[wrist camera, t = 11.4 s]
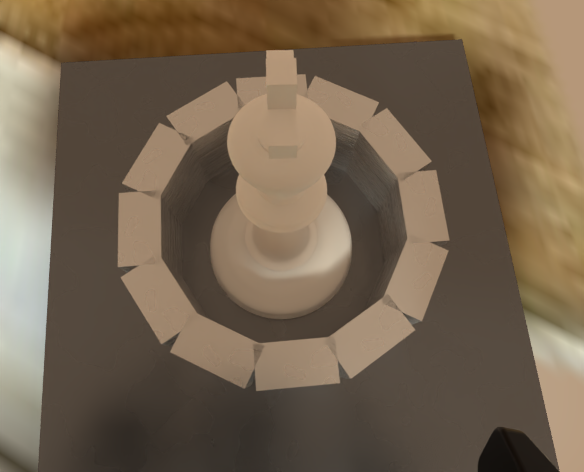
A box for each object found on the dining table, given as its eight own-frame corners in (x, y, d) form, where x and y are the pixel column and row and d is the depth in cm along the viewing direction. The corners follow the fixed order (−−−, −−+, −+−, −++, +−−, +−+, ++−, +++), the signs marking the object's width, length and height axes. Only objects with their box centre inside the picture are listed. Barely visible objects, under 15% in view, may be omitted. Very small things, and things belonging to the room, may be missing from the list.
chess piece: (346, 181, 17) (433, -66, 7) (356, 317, 16) (478, 233, 6) (211, 184, 17) (117, -63, 7) (209, 322, 15) (90, 244, 6)
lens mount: (541, 463, 15) (629, 495, 12) (51, 515, 15) (-31, 568, 11) (453, 55, 20) (494, -21, 16) (72, 78, 19) (19, 4, 15)
